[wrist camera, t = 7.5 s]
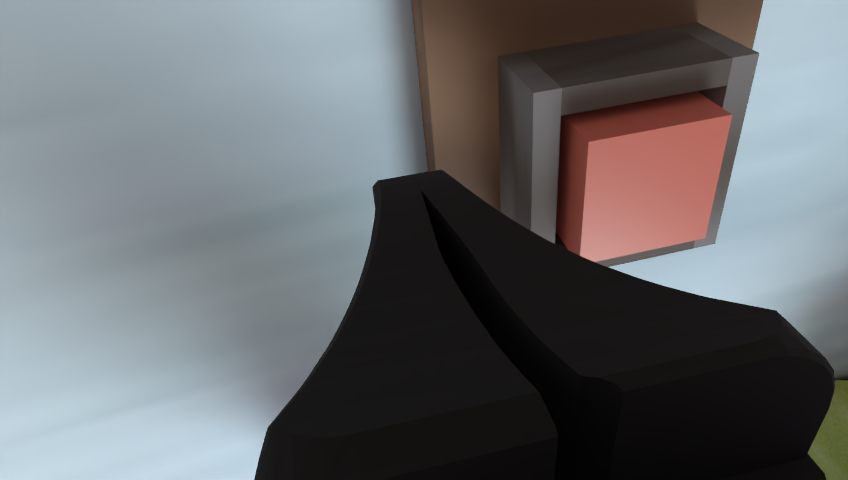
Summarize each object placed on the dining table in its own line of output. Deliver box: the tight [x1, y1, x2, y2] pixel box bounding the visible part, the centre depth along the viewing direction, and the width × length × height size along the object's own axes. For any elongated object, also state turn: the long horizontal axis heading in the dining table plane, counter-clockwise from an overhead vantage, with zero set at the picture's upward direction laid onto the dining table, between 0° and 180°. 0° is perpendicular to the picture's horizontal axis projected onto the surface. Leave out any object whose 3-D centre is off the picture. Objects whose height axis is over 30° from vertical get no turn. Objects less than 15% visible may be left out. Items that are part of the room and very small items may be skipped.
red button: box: [556, 91, 732, 262], centre depth 19 cm, size 4×4×3 cm
